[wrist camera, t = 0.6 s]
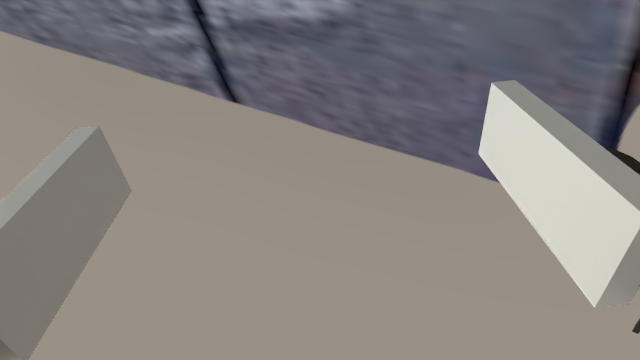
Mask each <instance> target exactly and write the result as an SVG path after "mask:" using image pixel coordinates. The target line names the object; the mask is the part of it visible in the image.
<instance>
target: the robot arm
mask: <svg viewBox="0 0 640 360" xmlns="http://www.w3.org/2000/svg"><path fill="white" fill-rule="evenodd" d="M479 155H480V156H481V158H482V159H483V160H484V162H485V163H486V164H487V166H488V167H489V168H490V170H491V171H492V172H493V174H494V175H495V176H496V178H497V179H498V180H499V182H500V183H501V184H502V186H503V187H504V188H505V190H506V191H507V192H508V194H509V195H510V196H511V198H512V199H513V200H514V202H515V203H516V204H517V206H518V207H519V208H520V210H521V211H522V212H523V214H524V215H525V216H526V218H527V219H528V220H529V222H530V223H531V224H532V226H533V227H534V228H535V229H536V231H537V232H538V233H539V235H540V236H541V237H542V239H543V240H544V241H545V243H546V244H547V245H548V247H549V248H550V249H551V251H552V252H553V253H554V255H555V256H556V257H557V259H558V260H559V261H560V263H561V264H562V265H563V267H564V268H565V269H566V271H567V272H568V273H569V275H570V276H571V277H572V279H573V280H574V281H575V283H576V284H577V285H578V287H579V288H580V289H581V290H582V292H583V293H584V295H585V296H586V297H587V299H588V300H589V301H590V303H591V304H592V305H593V306H594V308H599V307H608V306H619V305H629V304H630V302H631V300H632V299H633V297H634V296H635V294H636V293H637V291H638V290H639V288H640V162H638V161H637V160H635V159H634V158H633V157H631V156H629V155H626V154H624V153H622V152H619V151H617V150H615V149H612V148H610V147H608V148H603V147H602V146H601V145H599V144H598V143H597V142H596V141H594V140H593V139H592V138H590V137H589V136H588V135H586V134H585V133H584V132H582V131H581V130H580V129H578V128H577V127H576V126H575V125H573V124H572V123H571V122H569V121H568V120H567V119H565V118H564V117H563V116H561V115H560V114H559V113H557V112H556V111H555V110H553V109H552V108H551V107H550V106H548V105H547V104H546V103H544V102H543V101H542V100H540V99H539V98H538V97H536V96H535V95H534V94H532V93H531V92H530V91H529V90H527V89H526V88H525V87H523V86H522V85H521V84H519V83H518V82H517V81H515V80H512V81H502V82H493V83H491V88H490V94H489V99H488V105H487V110H486V116H485V121H484V126H483V132H482V137H481V143H480V148H479ZM130 192H131V188H130V186H129V184H128V182H127V180H126V178H125V176H124V174H123V172H122V170H121V168H120V166H119V164H118V162H117V160H116V158H115V156H114V154H113V152H112V150H111V148H110V146H109V144H108V142H107V141H106V138H105V136H104V134H103V132H102V130H101V128H100V126H92V127H83V128H76V129H75V130H74V131H73V132H72V134H70V135H69V136H68V137H67V138H66V139H65V140H64V141H63V142H62V143H61V144H60V145H59V146H58V147H57V148H55V149H54V150H53V151H52V152H51V153H50V154H49V155H48V156H47V157H46V158H45V159H44V160H43V161H42V162H41V163H40V164H39V165H38V166H37V167H35V168H34V169H33V170H32V171H31V172H30V173H29V174H28V175H27V176H26V177H25V178H24V179H23V180H22V181H21V182H20V183H19V184H18V185H17V186H16V187H15V188H14V189H12V190H11V191H10V192H9V193H8V194H7V195H6V196H5V197H4V198H3V199H2V200H1V201H0V360H28V359H29V358H30V356H31V354H32V353H33V351H34V350H35V348H36V346H37V345H38V343H39V341H40V340H41V338H42V336H43V335H44V333H45V331H46V330H47V328H48V327H49V325H50V323H51V322H52V320H53V318H54V317H55V315H56V314H57V312H58V310H59V308H60V307H61V305H62V304H63V302H64V300H65V299H66V297H67V295H68V294H69V292H70V291H71V289H72V287H73V285H74V284H75V282H76V280H77V279H78V278H79V276H80V274H81V273H82V271H83V269H84V268H85V266H86V264H87V263H88V261H89V260H90V258H91V256H92V254H93V253H94V251H95V250H96V248H97V246H98V245H99V243H100V241H101V240H102V238H103V237H104V235H105V233H106V232H107V230H108V228H109V227H110V225H111V223H112V222H113V220H114V219H115V217H116V215H117V214H118V212H119V210H120V209H121V207H122V205H123V204H124V202H125V201H126V199H127V197H128V196H129V194H130ZM632 331H633V332H635V333H637V334H638V333H639V332H640V319H639V320H638V322H637V323H636V325H635V327H634V329H633V330H632Z"/></svg>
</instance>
